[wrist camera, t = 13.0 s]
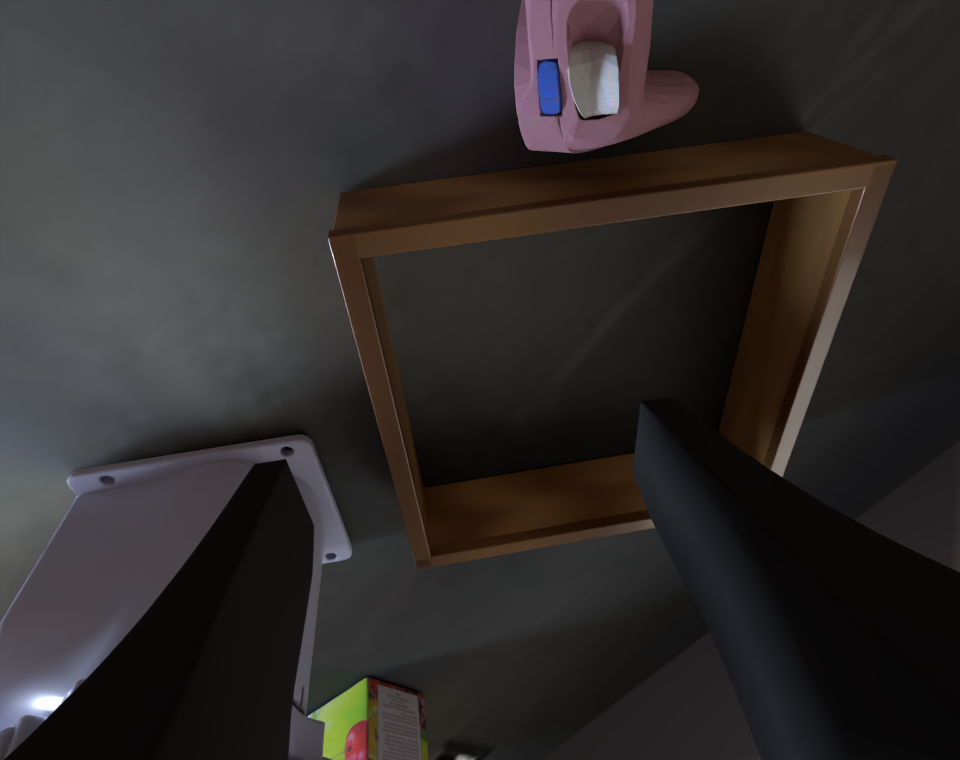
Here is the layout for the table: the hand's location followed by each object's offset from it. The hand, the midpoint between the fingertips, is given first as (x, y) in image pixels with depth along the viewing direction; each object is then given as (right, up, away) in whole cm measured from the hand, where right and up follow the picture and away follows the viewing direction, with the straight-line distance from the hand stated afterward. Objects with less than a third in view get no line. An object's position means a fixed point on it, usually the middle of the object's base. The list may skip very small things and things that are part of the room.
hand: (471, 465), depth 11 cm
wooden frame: (+4, +3, +10) cm, 11 cm away
